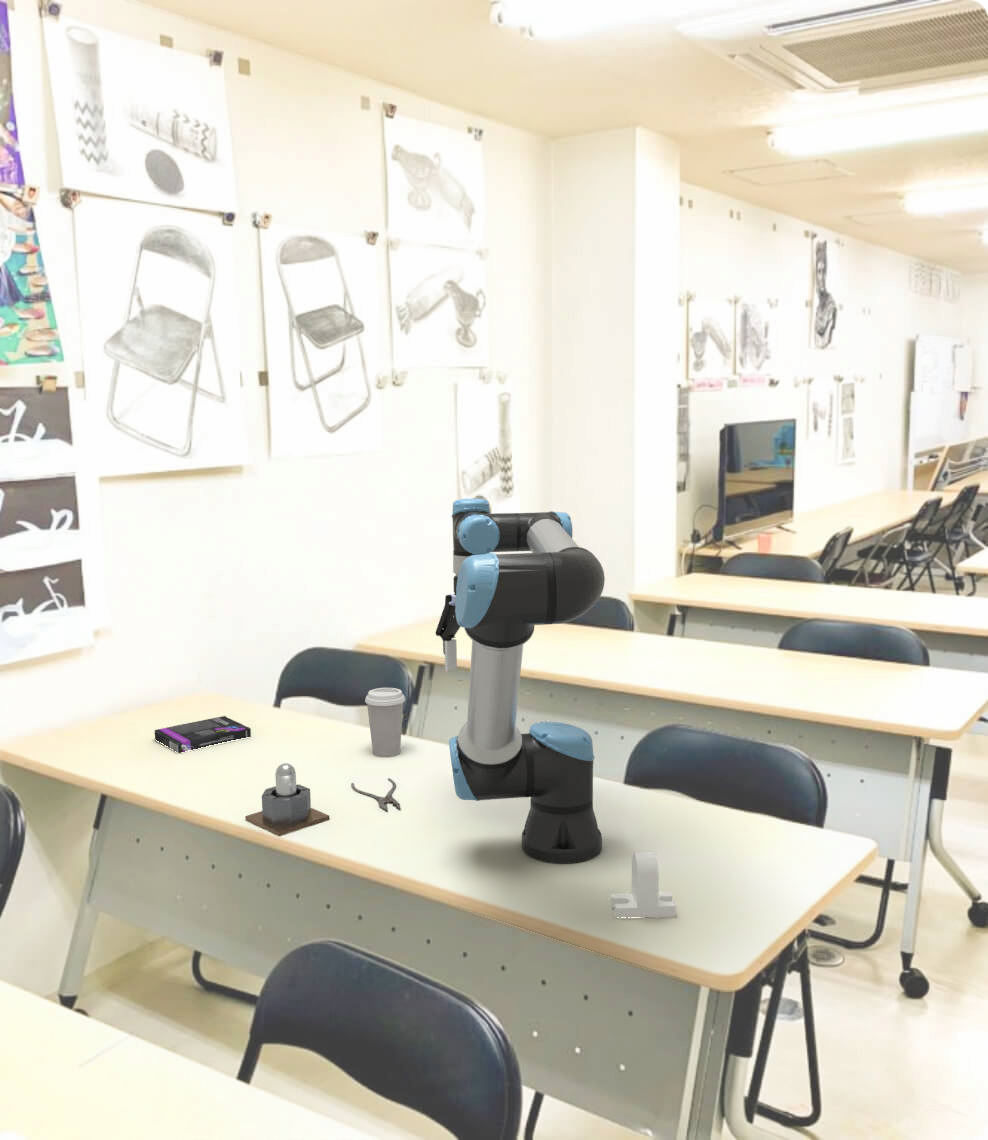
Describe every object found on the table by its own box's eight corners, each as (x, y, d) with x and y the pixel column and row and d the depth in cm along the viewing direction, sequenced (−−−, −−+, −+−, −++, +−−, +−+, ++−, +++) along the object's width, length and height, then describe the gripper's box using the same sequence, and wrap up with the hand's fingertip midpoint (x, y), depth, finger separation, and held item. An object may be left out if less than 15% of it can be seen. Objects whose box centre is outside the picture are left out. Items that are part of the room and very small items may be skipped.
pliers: (386, 775, 248) (429, 801, 232) (386, 778, 249) (429, 805, 232) (346, 783, 243) (387, 810, 227) (346, 787, 244) (387, 815, 227)
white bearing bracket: (676, 917, 180) (677, 859, 179) (615, 919, 180) (616, 860, 178) (669, 902, 185) (670, 845, 184) (610, 904, 185) (611, 847, 183)
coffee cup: (414, 750, 267) (413, 690, 265) (390, 761, 259) (388, 699, 257) (383, 744, 272) (381, 684, 270) (358, 755, 264) (356, 693, 262)
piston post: (329, 819, 224) (327, 763, 222) (279, 836, 215) (276, 778, 214) (295, 804, 232) (293, 750, 230) (245, 819, 224) (242, 764, 222)
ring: (318, 815, 223) (317, 792, 223) (280, 828, 217) (279, 803, 216) (293, 804, 230) (292, 781, 229) (255, 816, 224) (254, 792, 223)
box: (178, 757, 267) (252, 739, 279) (177, 743, 266) (251, 726, 278) (154, 743, 277) (226, 726, 289) (153, 729, 277) (225, 713, 289)
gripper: (528, 579, 220) (529, 683, 224) (444, 566, 238) (446, 663, 241) (501, 583, 215) (502, 690, 218) (417, 570, 233) (419, 669, 236)
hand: (473, 676), depth 230 cm, fingers open, 13 cm apart
